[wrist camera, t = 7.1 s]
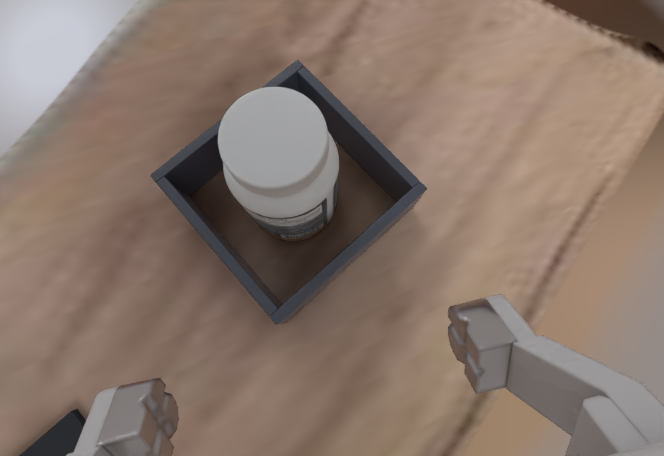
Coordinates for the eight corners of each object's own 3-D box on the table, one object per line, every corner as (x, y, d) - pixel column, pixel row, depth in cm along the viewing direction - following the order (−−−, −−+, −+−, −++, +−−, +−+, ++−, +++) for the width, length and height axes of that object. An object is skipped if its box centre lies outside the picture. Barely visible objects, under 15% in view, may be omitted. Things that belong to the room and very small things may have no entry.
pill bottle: (273, 149, 27) (240, 55, 17) (350, 180, 26) (361, 101, 16) (237, 223, 25) (179, 167, 16) (317, 257, 25) (307, 221, 15)
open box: (413, 207, 26) (427, 188, 22) (285, 323, 24) (276, 325, 20) (302, 95, 28) (297, 59, 24) (176, 196, 26) (149, 175, 22)
